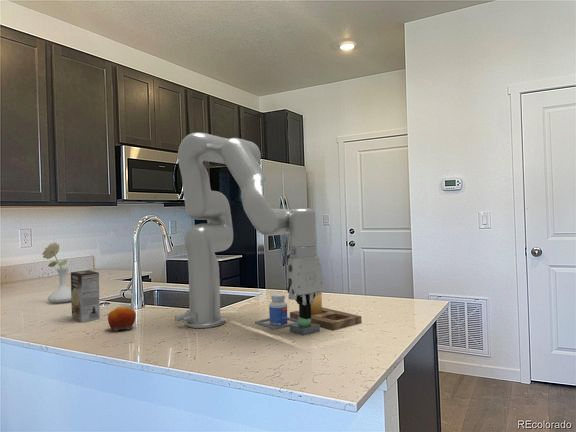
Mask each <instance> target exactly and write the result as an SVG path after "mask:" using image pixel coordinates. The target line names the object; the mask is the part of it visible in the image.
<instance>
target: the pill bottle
mask: <svg viewBox="0 0 576 432" xmlns="http://www.w3.org/2000/svg"><path fill="white" fill-rule="evenodd" d="M285 296H286V295H285V294H283V293H274V294H272V295H271V297H270V298H271V302H270V303H269V305H268V306H269V307H268V310H269V318H270V321H269V325H271V326H275V327H277V326H282V325H286V324H288V320H287V317H288V302H287V301H285V299H286V297H285Z"/></svg>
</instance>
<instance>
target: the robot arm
mask: <svg viewBox="0 0 576 432" xmlns="http://www.w3.org/2000/svg"><path fill="white" fill-rule="evenodd" d="M261 155H262V154H261V151H260V148H259V146H258V145H257V144H256V143H255V142H253V141H249V140H246V139H243V138H238V137H231V138H230V137H229V138H226V137H222V136H218V135H214V134H211V133H210V134H209V133H205V132H198V131H197V132H191V133H189V134H187V135H186V136H184V137H183V139H182V141H181V143H180V144H179V147H178V150H177V160H178V162H177V163H178V166H179V170H180V175H181V181H182V191H183V199H184V206H185V213H186V214H187V216H188V217H189V218H190V219H193V220H198V221H199V220H200V221H201V220H205V221H207V223H199V224H194V225H192V226H191V227H189V228H188V229H187V231H186V232H185V234H184V235H185V236H184V246H185V249H186V250H185V251H186V256H187V265H188V267H187V268H188V291H189V292H188V295H189V296H188V297H189V309H186V312H184V313H183V314H177V315H175V316H174V320H175V322H184V325H185V326H186V327H187V328H191V329H192V328H193V329H206V328H213V327H218V326H222V325H224V324H225V323H226V317H225V316H222V315H221V291H220V289H221V288H220V287H221V286H220V285H221V283H220V266H219V261H218V258H217V256H216V253H219V252H224V251H227V250H228V249H229V248H230V247H231V246H232V245H233V241H234V227H233V220H232V214H231V206H230V203H229V200H228V198H227V197H226V195H225V194H223V193H222V192H220V191H217V190H212V188H211V182H210V176H209V173H208V170H207V169H206V166H205V165H204V163H203V162H208V163H209V162H211V163H218V164H223V165H226V167H227V169H228V171H229V172H230V174H231V175H232V177H233V178H234V181H235V182H236V183H237V185H238V187H239V189H240V191H241V193H240V194H241V196H240V197H241V202H242V203H241V204H242V207H243V211H244V213H245V215H246V216H247V218H248V220H249V221H250V223H251V224H252V226H253V227H254V229H255V230H256V231H257V232H258V233H259V234H261V235H263V236H265V237H266V236H268V237H271V236H281V235H287V234H288V236H289V237H288V239H289V242H288V243H289V249H288V250H286V251H287V252H286V253H287V255H288V256H289V258H288V259H287V260H288V261H287V267H286V291H287V293H288V299H289V300H293V301H295V302H296V304H297V305H298V310H299V315H300V318H304V319H309V318H310V319H311V304H312V303H313V299H314V297H315V296H317V295H319V294H320V291H323V290H324V280H323V279H324V278H323V270H322V263H321V259H320V257H319V256H318V251H317V225H316V224H317V222H316V221H317V220H316V212H315V210H314V209H312V208H310V207H308V208H293V209H289V208H288V209H287V208H272V207H271V206H270V204H269V202H268V201H267V199H266V198H265V196H264V193H263V189H262V185H264V183H265V182H266V179H267V175H266V173H265V171H264V170H263V168H262V166H261V165H260V164H259V163H260V160H261V157H262V156H261Z"/></svg>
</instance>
